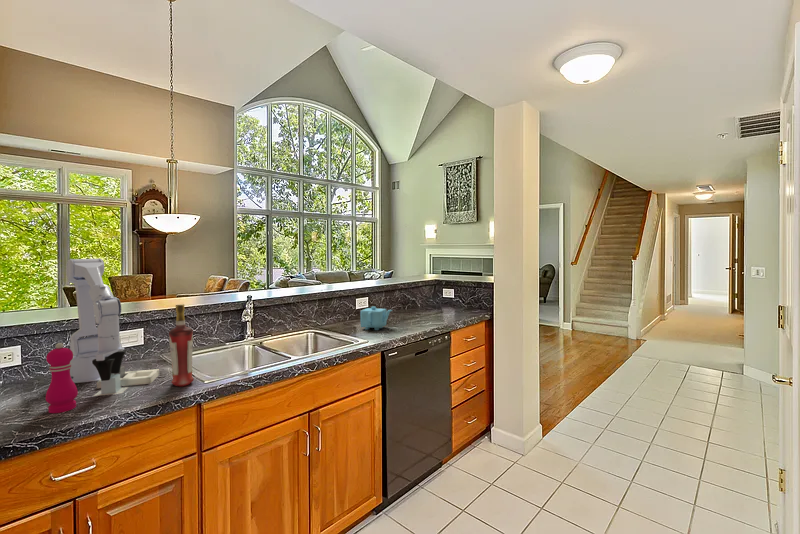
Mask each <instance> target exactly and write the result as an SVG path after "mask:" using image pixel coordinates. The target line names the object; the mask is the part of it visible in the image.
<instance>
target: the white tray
mask: <svg viewBox="0 0 800 534" xmlns="http://www.w3.org/2000/svg"><path fill="white" fill-rule="evenodd" d="M125 367H126V366H125V365H121V368H120V372H119V373H114V375H116V374H120V383H121V387H122V386H123V387H129V386H136V385H138V386H139V385H146V384H148V385H149V384H152V382H154V381H155V380H156V379H157V378H158V376H160V369H159V368H156V369H146V370H145V369H144V370H143V369H142V370H133V371H131V370H130V371H129V370H128V371H126V368H125ZM111 374H112V373H111ZM96 389H101V379H100V380H99V381H96Z"/></svg>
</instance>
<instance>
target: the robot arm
mask: <svg viewBox="0 0 800 534" xmlns="http://www.w3.org/2000/svg"><path fill="white" fill-rule="evenodd" d="M65 269H66V278H67V281H68V283H71V284H73V286H74V288H75V295H76V305H77V316H78V326H79V327H78V328H79V329H78V330H76V331H75V332H73V333H72V334H71V335H70V338H69V339H70V343H69V349H70V350H71V351H72V352H73V359H72V360H71V361H70V363H72V364H71V366H72V367H71V368H70V376H71V379H72V381H73V382H74V384H76V383H88V382H98V381H99V380H100V379H101V380H102V381H107V380H110V377H111V373H119V372H120V368H121V366H122V362H123V359H124V357H125V355H126V353H127V351H126V350H125V347H123V345H122V343H121V339H120V337H121V336H120V317H119V316H121V314H122V303H121V301H120V300H121V299H120V298H117V296H114V294H113V292H112V290H111V288H110V286H109V285H108V284H104V281H103V277H102V276H103V275H104V273H105V262H104V260H103V259H102V257H101V258H99V257H98V258H77V259H76V258H75V259H74V258H70V259H68V260H67V261H66V268H65ZM96 324H97V326H96Z"/></svg>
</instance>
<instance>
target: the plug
mask: <svg viewBox="0 0 800 534" xmlns="http://www.w3.org/2000/svg"><path fill="white" fill-rule="evenodd" d="M121 388H122V386H121V383H120V374H116V375H114V373H112V374H111V377H110V380H107V381H102V380H101V388H100V390H101V393H102V394H109V393H116V392H117V391H119V390H120V389H121Z"/></svg>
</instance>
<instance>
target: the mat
mask: <svg viewBox="0 0 800 534" xmlns="http://www.w3.org/2000/svg"><path fill="white" fill-rule="evenodd" d="M128 388H129V386H123V387H121V389H120V390H119V391H117V392H116V393H109V394H102V393H101V389H100V390H99V391H98V392H97V393H95V394H93V397H99V396H107V395H108V396H109V395H117V394H118V395H119V394H120V395H121V394H123V393H124V392H125V391H126V390H127V389H128Z"/></svg>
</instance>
